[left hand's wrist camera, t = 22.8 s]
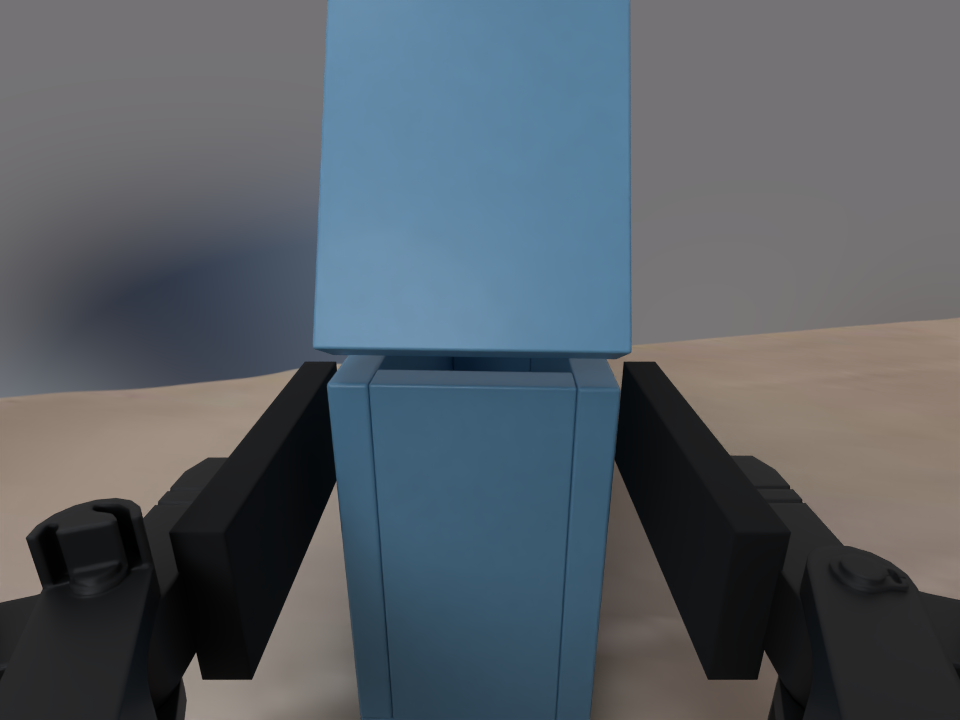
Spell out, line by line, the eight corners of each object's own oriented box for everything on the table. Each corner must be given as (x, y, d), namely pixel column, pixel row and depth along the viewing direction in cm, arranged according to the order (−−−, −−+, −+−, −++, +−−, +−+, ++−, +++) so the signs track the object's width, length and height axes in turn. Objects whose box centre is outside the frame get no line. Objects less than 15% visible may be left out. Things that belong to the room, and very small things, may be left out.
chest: (439, 419, 28) (434, 238, 25) (543, 421, 28) (551, 239, 25) (361, 742, 13) (324, 383, 10) (587, 751, 13) (621, 388, 10)
